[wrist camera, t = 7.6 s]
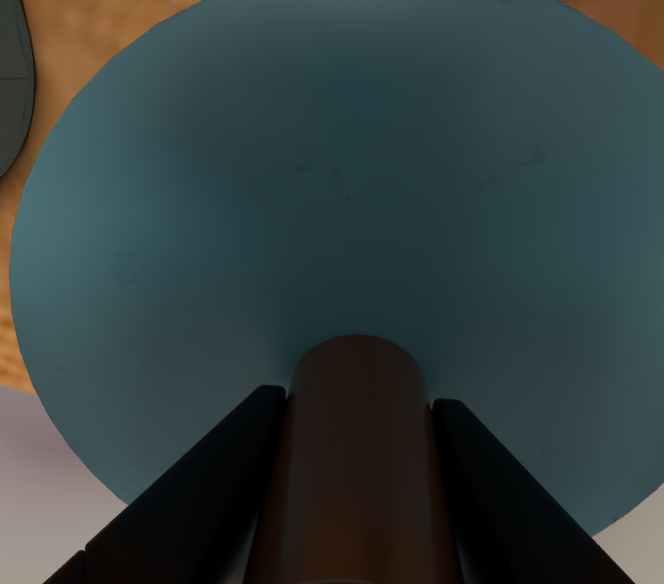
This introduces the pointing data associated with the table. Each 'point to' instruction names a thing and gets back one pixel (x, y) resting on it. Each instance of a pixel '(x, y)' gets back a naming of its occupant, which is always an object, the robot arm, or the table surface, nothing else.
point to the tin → (14, 81)
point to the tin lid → (357, 264)
